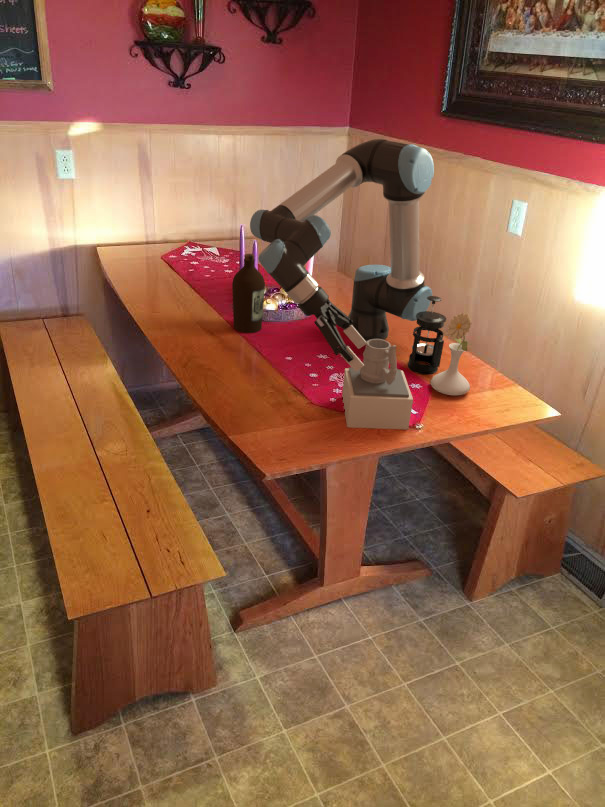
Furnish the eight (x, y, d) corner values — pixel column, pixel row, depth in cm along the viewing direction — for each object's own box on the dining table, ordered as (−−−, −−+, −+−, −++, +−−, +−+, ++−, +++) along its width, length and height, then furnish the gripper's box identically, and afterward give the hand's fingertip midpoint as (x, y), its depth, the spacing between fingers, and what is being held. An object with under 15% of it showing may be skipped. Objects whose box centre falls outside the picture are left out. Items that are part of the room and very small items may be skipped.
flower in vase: (427, 379, 199) (441, 300, 187) (465, 381, 199) (481, 303, 187) (433, 400, 188) (448, 318, 176) (473, 403, 188) (491, 321, 176)
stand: (341, 396, 187) (345, 365, 182) (398, 399, 188) (403, 368, 183) (347, 427, 173) (351, 394, 168) (408, 429, 174) (413, 396, 169)
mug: (376, 368, 181) (382, 327, 175) (404, 387, 173) (411, 346, 167) (353, 373, 178) (358, 332, 172) (380, 394, 169) (387, 351, 163)
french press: (399, 362, 208) (410, 293, 196) (423, 357, 212) (435, 289, 201) (423, 379, 199) (435, 307, 188) (447, 373, 203) (461, 303, 192)
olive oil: (225, 328, 222) (225, 255, 209) (242, 318, 230) (244, 247, 218) (252, 336, 218) (254, 262, 205) (269, 326, 226) (272, 254, 213)
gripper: (303, 287, 178) (353, 344, 185) (289, 323, 157) (346, 386, 163) (324, 270, 175) (374, 329, 182) (313, 304, 154) (370, 370, 160)
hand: (361, 356), depth 172 cm, fingers open, 13 cm apart
